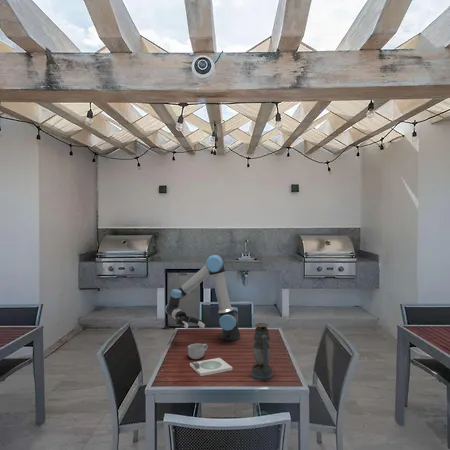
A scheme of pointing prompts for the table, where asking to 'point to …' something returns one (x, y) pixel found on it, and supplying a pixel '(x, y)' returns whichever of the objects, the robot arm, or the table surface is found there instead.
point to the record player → (210, 366)
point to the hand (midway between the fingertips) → (196, 326)
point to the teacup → (196, 350)
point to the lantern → (262, 353)
